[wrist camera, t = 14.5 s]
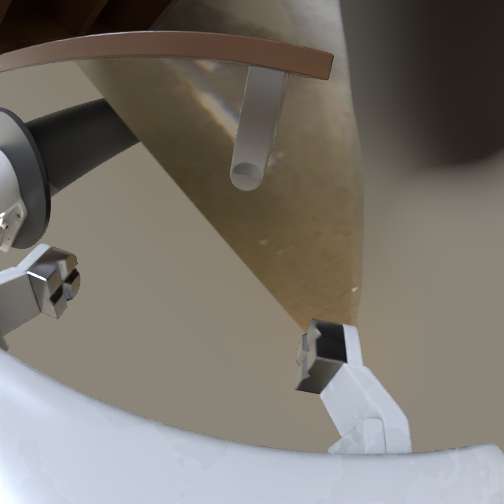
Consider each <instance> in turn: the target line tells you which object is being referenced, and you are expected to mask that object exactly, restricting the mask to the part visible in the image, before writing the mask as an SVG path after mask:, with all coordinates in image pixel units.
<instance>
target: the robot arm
mask: <svg viewBox="0 0 504 504" xmlns="http://www.w3.org/2000/svg"><path fill="white" fill-rule="evenodd" d="M26 216H27V209H26V207H25V204H24V202H23V200H22V198H21V194H20V189H19V184H18V180H17V177H16V174H15V171H14V169H13V167H12V165H11V163H10V161H9V160H8V158H7V157H6V155H5V154H4V153H3V152H2V151H1V150H0V250H2V251H4V252H8V251H9V250H10V249H11V247H12V245H13V242H14V240H15V238H16V236H17V234H18V232H19V230H20V228H21V226H22V224H23V222H24V220H25V218H26ZM77 264H78V263H77V258H76V256H75V255H74V254H72V253H69V252H66V251H64V250H61V249H58V248H55V247H52V246H49V245H47V244H44V243H43V244H40V245H38V247H36V248H35V249H34V250H33V251H32V252H31V253H30V254H29V255H28V256H27V257H26V258H25V259H24V260H23V261H22V262H21V263H20V264H19V265H18V266H17V267H16V268H14V267H11V268H9V269H6V270H4V271H1V272H0V504H504V454H503V452H502V451H501V450H500V449H499V448H498V447H497V446H496V445H495V444H494V443H491V442H485V443H480V444H475V445H470V446H464V447H458V448H451V449H444V450H435V451H426V452H415V453H413V452H412V445H411V437H410V430H409V423H408V418H407V417H406V415H405V414H404V413H403V411H402V410H401V409H400V407H398V405H397V404H396V403H395V401H394V400H393V399H392V397H391V396H390V395H389V393H388V392H387V391H386V390H385V388H384V387H383V386H382V385H381V383H380V382H379V381H378V380H377V378H376V377H375V376H374V375H373V373H372V372H371V371H370V369H369V368H368V367H364V366H363V360H362V352H361V346H360V340H359V334H358V329H357V327H356V326H350V325H345V324H339V323H334V322H329V321H324V320H319V319H314V318H312V319H311V320H310V322H309V324H308V326H307V333H306V334H304V335H303V336H302V338H301V340H300V342H299V345H298V349H297V356H296V362H297V364H298V365H299V368H298V370H297V371H296V378H295V390H300V391H305V392H310V393H316V394H320V395H319V396H320V398H321V400H322V401H323V403H324V405H325V407H326V409H327V411H328V413H329V414H330V416H331V418H332V420H333V422H334V424H335V426H336V427H337V429H338V431H339V433H340V435H341V437H342V438H341V439H340V440H339V441H337V442H336V443H335V444H334V445H332V446H331V447H330V448H328V453H317V452H305V451H295V450H286V449H279V448H271V447H265V446H258V445H253V444H247V443H241V442H236V441H231V440H226V439H222V438H217V437H213V436H208V435H204V434H200V433H196V432H193V431H189V430H185V429H182V428H178V427H175V426H171V425H168V424H165V423H161V422H158V421H155V420H152V419H149V418H146V417H143V416H140V415H137V414H134V413H132V412H129V411H126V410H123V409H121V408H118V407H116V406H113V405H111V404H108V403H106V402H103V401H101V400H99V399H96V398H94V397H91V396H89V395H87V394H85V393H83V392H80V391H78V390H76V389H74V388H72V387H70V386H68V385H66V384H64V383H62V382H60V381H58V380H56V379H54V378H52V377H50V376H48V375H46V374H44V373H42V372H41V371H39V370H37V369H35V368H33V367H32V366H30V365H28V364H26V363H25V362H23V361H21V360H19V359H18V358H16V357H15V356H13V355H11V354H10V353H8V352H7V350H8V348H9V347H8V344H7V342H6V340H5V338H4V335H6V334H7V333H9V332H11V331H12V330H14V329H16V328H17V327H19V326H21V325H22V324H24V323H25V322H27V321H29V320H30V319H32V318H33V317H35V316H37V315H39V314H40V313H41V312H42V313H44V314H46V315H49V316H51V317H53V318H56V319H59V317H60V316H61V315H62V313H63V312H64V311H65V309H66V308H67V301H69V300H71V299H73V298H74V297H75V296H76V294H77V293H78V290H79V287H80V274H79V272H78V271H77V269H76V268H75V267H76V266H77Z"/></svg>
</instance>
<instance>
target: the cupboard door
mask: <svg viewBox="0 0 504 504" xmlns="http://www.w3.org/2000/svg"><path fill="white" fill-rule="evenodd" d="M99 58H175V59H191V60H203V61H213V62H222V63H229V64H237V65H244V66H249V70H248V75H247V80H246V86H245V91H244V96H243V102H242V107H241V112H240V118H239V124H238V129H237V135H236V141H235V146H234V152H233V158H232V164H231V170H230V179H231V181H232V183H233V184H234V186H235V187H237V188H238V189H240V190H243V191H252V190H254V189H256V188H258V187H259V186H260V184H261V182H262V180H263V177H264V173H265V170H266V167H267V164H268V161H269V157H270V154H271V151H272V148H273V145H274V141H275V137H276V132H277V128H278V123H279V119H280V114H281V109H282V105H283V100H284V96H285V91H286V87H287V82H288V77H289V74H292V75H296V76H301V77H305V78H313V79H320V80H328V79H329V75H330V71H331V66H332V62H333V58H334V55H333V54H330V53H327V52H323V51H319V50H315V49H311V48H307V47H302V46H298V45H293V44H289V43H284V42H278V41H273V40H267V39H261V38H254V37H247V36H240V35H231V34H221V33H210V32H194V31H133V32H118V33H106V34H97V35H89V36H81V37H75V38H69V39H63V40H58V41H52V42H48V43H43V44H38V45H34V46H30V47H26V48H22V49H19V50H15V51H11V52H8V53H5V54H2V55H0V72H4V71H8V70H13V69H18V68H23V67H28V66H34V65H41V64H48V63H55V62H63V61H73V60H84V59H99Z"/></svg>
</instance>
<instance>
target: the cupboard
mask: <svg viewBox="0 0 504 504" xmlns="http://www.w3.org/2000/svg"><path fill="white" fill-rule="evenodd" d="M177 1H178V0H0V55H2V54H5V53H8V52H11V51H15V50H19V49H22V48H26V47H30V46H34V45H38V44H43V43H48V42H52V41H58V40H63V39H69V38H75V37H81V36H89V35H97V34H106V33H118V32H133V31H153V30H154V28H155V27H156V26H157V25H158V23H159V22H160V21H161V20H162V18H163V17H164V16H165V15H166V14H167V13H168V11H169V10H170V9H171V8H172V7H173V6H174V4H175V3H176V2H177Z"/></svg>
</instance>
